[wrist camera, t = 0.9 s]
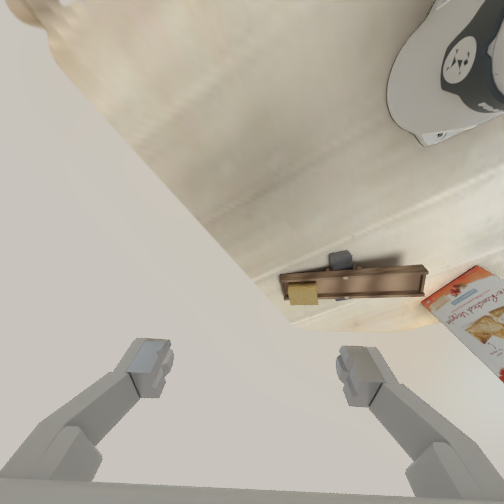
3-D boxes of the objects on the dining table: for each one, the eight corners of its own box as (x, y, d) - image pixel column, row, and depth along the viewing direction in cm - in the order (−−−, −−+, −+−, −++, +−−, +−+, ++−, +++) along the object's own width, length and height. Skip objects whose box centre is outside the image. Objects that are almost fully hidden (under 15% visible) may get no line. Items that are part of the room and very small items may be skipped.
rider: (315, 278, 44) (316, 290, 41) (317, 292, 46) (318, 304, 43) (289, 280, 46) (287, 291, 43) (291, 293, 48) (290, 305, 45)
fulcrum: (347, 250, 44) (352, 255, 41) (349, 291, 49) (353, 298, 47) (329, 253, 44) (332, 259, 42) (332, 294, 50) (336, 301, 47)
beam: (419, 261, 39) (428, 272, 36) (416, 285, 42) (424, 296, 39) (281, 272, 48) (279, 280, 45) (285, 290, 51) (284, 300, 48)
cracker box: (474, 263, 44) (630, 345, 26) (489, 276, 46) (646, 363, 27) (418, 301, 50) (512, 392, 31) (432, 312, 51) (530, 404, 33)
